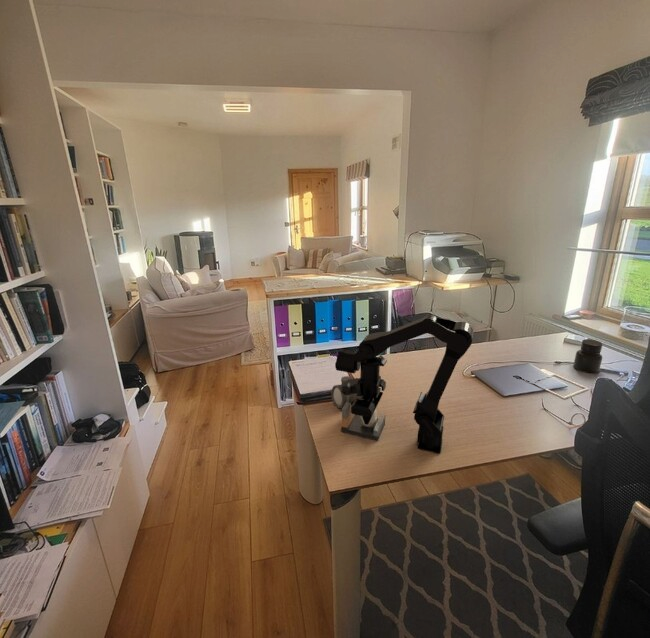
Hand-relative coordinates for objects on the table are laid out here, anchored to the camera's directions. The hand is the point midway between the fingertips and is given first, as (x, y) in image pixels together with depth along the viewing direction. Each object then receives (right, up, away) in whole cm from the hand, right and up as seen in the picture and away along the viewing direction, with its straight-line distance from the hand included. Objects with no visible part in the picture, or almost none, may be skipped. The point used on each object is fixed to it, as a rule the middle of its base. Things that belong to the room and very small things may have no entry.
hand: (368, 419), depth 111 cm
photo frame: (+75, +6, +26) cm, 80 cm away
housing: (0, -1, 0) cm, 1 cm away
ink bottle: (+96, +11, +37) cm, 104 cm away
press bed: (-2, -3, +2) cm, 4 cm away
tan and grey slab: (-6, -1, +3) cm, 7 cm away
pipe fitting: (-5, +1, +16) cm, 17 cm away
